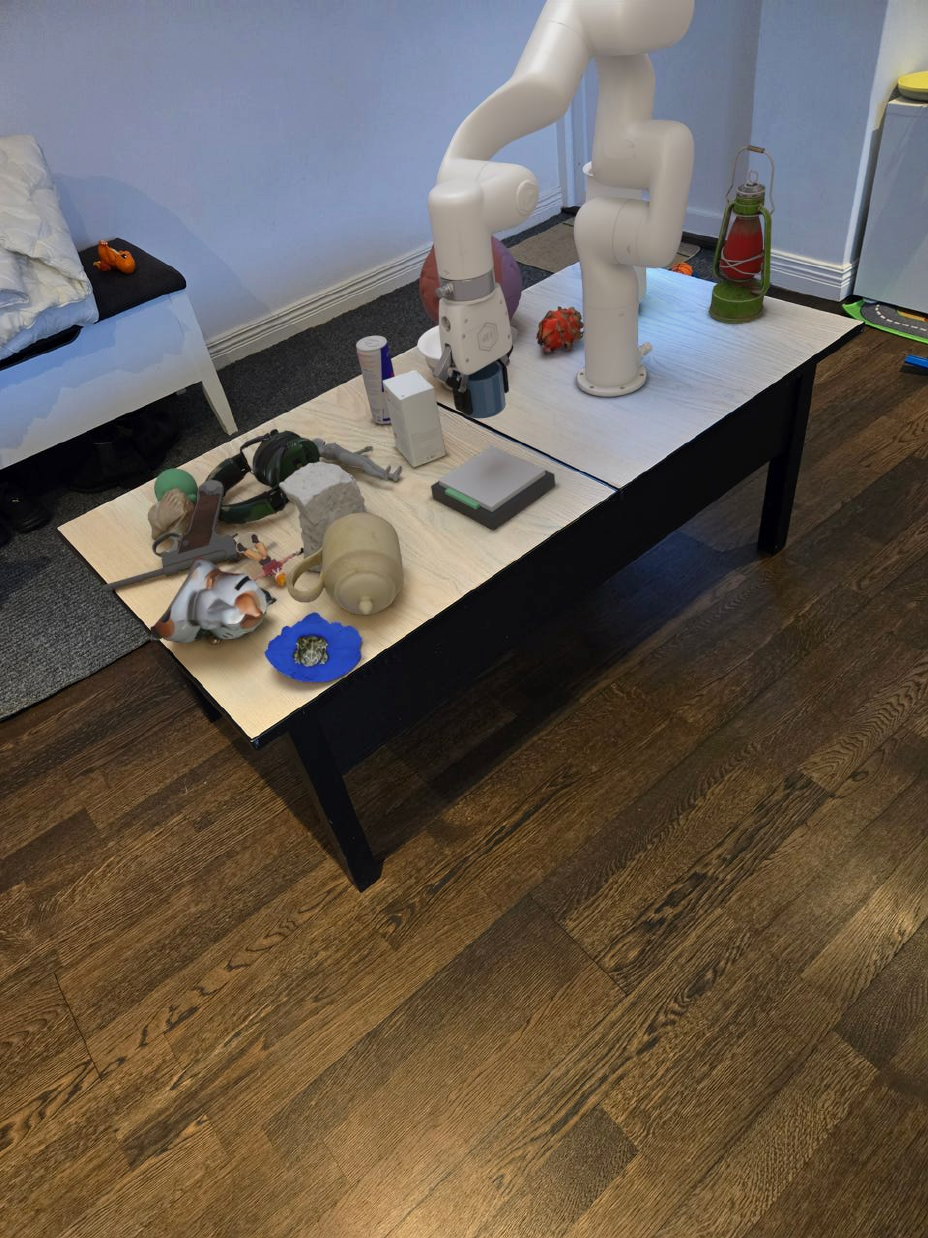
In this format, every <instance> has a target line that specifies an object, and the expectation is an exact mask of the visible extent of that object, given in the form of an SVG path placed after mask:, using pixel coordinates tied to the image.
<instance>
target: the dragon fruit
mask: <svg viewBox="0 0 928 1238" xmlns="http://www.w3.org/2000/svg"><path fill="white" fill-rule="evenodd" d="M582 320H583V315H582V314H581V312H580V311H578V310H576V308H575V307H574V306H570V307H568V308H566V307H563V308H562V306H560V305H558V306H557V309H556V310H555V311H554V310H547V312H546V314H545V316H544V317H543V318H542V319H541V321H540V322H538V325H537V326H538V327H537V328H538V329H537V333H536V336H535V340H537V341H536V342H537V345H539V346H540V347H541V348H542V347H545V348H544V349H543V353H544V354H547V353H552V354H553V353H555V352H557V351H558V350H559V349H564V350H565V351H566V352H569V351H570V350H571V349H572V348H573V347H574V342H575V340H577V341H580V340H582V339H584V325H583V321H582ZM581 329H583V330H582V331H581Z"/></svg>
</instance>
